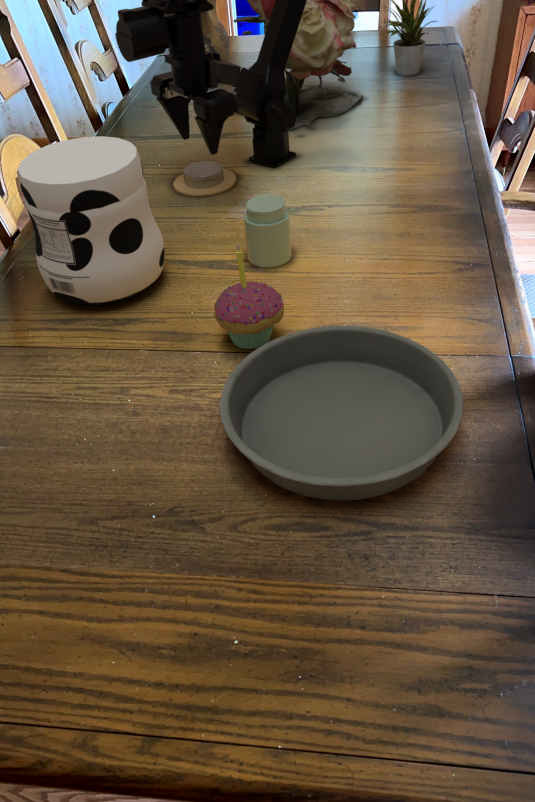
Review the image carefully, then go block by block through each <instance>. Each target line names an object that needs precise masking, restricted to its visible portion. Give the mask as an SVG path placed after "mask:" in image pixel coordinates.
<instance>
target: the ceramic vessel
mask: <svg viewBox="0 0 535 802" xmlns="http://www.w3.org/2000/svg"><path fill="white" fill-rule="evenodd" d="M207 1H208V2H209V3H211V4H212V5H213V6H214V8H213V10H210V11H206V12H202V13H201V17H202V25H203V34H204V42H205V51H212V52H216V53H219V54H220V57H221V61H222V60H223V61H226V62H229V63H230V59H231V44H230V38H229V35H228V32H227V30H226V28H225V26H224V24H223V23H222V22H221V20H220V19H219V16H218V14H217V0H207ZM206 34H207V35H206Z"/></svg>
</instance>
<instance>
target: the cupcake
mask: <svg viewBox="0 0 535 802" xmlns="http://www.w3.org/2000/svg"><path fill="white" fill-rule="evenodd" d="M239 247H240V246H239V244H236V252H235V254H236V255H235V256H236V261H237V269H238V274H239V279H240V282H237V283H235V284H233V285H231V286H228V287H227V288H226V289H224V290H222V292H221V293H220V294H219V296H218V297H217V298H216V301H215V303H214V311H213V312H214V313H213V315H214V319H215V320H216V322H217V324H218V325H219V327H220V328H221V329H223V330H225V331H226V332H227V333H228V335H229V338H230V339H231V341H232V343H233V344H234V345H235V347H238V348H240V349H243V350H254V349H255V350H256V349H258V348H259V347H261V346H263V345H265V344H266V343H268V342H270V341H271V340H270V339H271V335H272V332H273V328H274V327H275V324H278V323H280V322H281V321H282V319H283V317H284V315H285V314H284V313H285V305H284V299H283V296H282V293H279V292H278V291H277V290H276V289H275V288H274V287H273V286H272V285H268V284H267V283H265V282H264V283H263V282H259V281H247V278H246V271H245V264H244V260H243V259H244V258H243V253H242V250H240V248H239Z"/></svg>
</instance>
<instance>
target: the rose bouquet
mask: <svg viewBox="0 0 535 802" xmlns="http://www.w3.org/2000/svg"><path fill="white" fill-rule="evenodd" d="M246 2H247V3H248V4H249V6H250V7H251V9H252V11H254V12H255V13H256V14H257V16H251V15H246V16H242V17H238V18H235V19H233V20H232V22H233V23H239V22H241V23H250V24H262V23H263V24H265V25H263V29H264V30H265V29H267V27H268V23H269V20H270V17H271V14H272V10H273V7H274V4H275V0H246ZM355 8H356V5H355V4H354V3H353V2H352V1H351V0H307V2H306V5H305V8H304V11H303V15H302V18H301V21H300V24H299V27H298V30H297V33H296V36H295V39H294V42H293V45H292V49H291V52H290V55H289V58H288V61H287V64H286V67H285V72H284V74H285V83H286V95H285V101H284V104H285V105H286V106H287V107H288V108H289V109H291V110H292V111H293V112H294V113H295V114H296V115H297V118H296V122H295V126H294V128H291V129H290V130H293V129H297V128H299V127H301V126H302V127H303V126H307V127H308V128H311V129H312V127H311V126H310V125H311V123H312V122H313V121H314V120H316V119H317V118H324V117H328V118H329V117H336V116H338V115H342V113H345V112H347V111H349V110H350V109H351V108H352V107H353V106H354V105H355V104H356V103H357V102H359V101H360V100H361V99H364V95H358V94H357V93H354V92H344V91H336V90H329V89H327V88H326V87H324V86H323V81H322V77H324V76H327V75H329V74H332V75H333V76H336V77H337V79H336V80H337V81H338V82H340V83H347V80H346V79H345V78H344V77H349V76H350V75H351V74H352V73H353V72H352V67H350V66H348V65H345V64H347V61H341V60H340V59H339V58H341V57H342V56H343V55H344V52H345V51H347V50H350V49H357V44H356V41H355V40H354V38H353V37H354V36H353V34H352V33H351V32H352V31H353V30H354V29H355V19H356V16H355V14H354V13H353V10H355ZM241 33H242V35H243V36H252V35H253V33H252V30H245V31H243V32H241ZM206 35H207V34H206ZM253 65H254V64H252V65H250V66H249V67H248V69H250V68H251V67H252V66H253ZM288 70H289V71H288ZM311 76H312V77H317V78H318V79H319V84H317V86H316V85H312V86H303V85H304V84H305V80H306V79H307V78H309V77H311ZM234 89H235V88H232V89H231V91H230V92H231V93H233V94H234V95H235V96H236V92H234ZM237 114H242V113H240V111H238V112H237ZM242 115H243V114H242Z"/></svg>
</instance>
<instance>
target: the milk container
mask: <svg viewBox="0 0 535 802" xmlns="http://www.w3.org/2000/svg"><path fill="white" fill-rule="evenodd" d="M142 162H143V161H142V159H141V156H140V152H139V150H138V148H137V147H136V146H135V145H134V144H133V143H132V142H131V141H129V140H126V139H123V138H120V137H112V136H103V135H102V136H100V135H99V136H84V137H83V136H82V137H78V138H77V137H75V138H71V139H64V140H61V141H58V142H54V143H51V144H48V145H45V146H42V147H41V148H39V149H36V150H35V151H33V152H30V153H29V154H28V155H26V157H25V158H23V159H22V160H21V161H20V162H19V165H18V167H17V175H18V176H17V177H18V182H19V185H20V190H21V192H22V195H23V197H24V204H25V207H26V210H27V213H28V216H29V219H30V222H31V225H32V228H33V232H34V238H35V239H34V240H35V259H36V264H37V268H38V271H39V273H40V275H41V278H42V280H43V282H44V283H45V285H46V287H47V288H48V289H49V291H50V292H51V293H52V294H53V295H55V296H56V297H58V298H59V299H61V300H63V301H66V302H68V303H73V304H78V305H84V306H93V305H94V306H95V305H96V306H97V305H100V306H101V305H102V306H103V305H108V304H112V303H117V302H122V301H126V300H127V299H130V298H132V297H134V296H137V295H139V294H141V293H142V292H144V291H146V290H147V289H148V288H149V287H151V286H152V285H154V284H155V282H156V281H157V280H158V279H159V277H160V276H161V274H162V272H163V270H164V266H165V255H166V254H165V253H166V251H165V242H164V239H163V236H162V232H161V230H160V227H159V225H158V223H157V222H156V219H155V218H154V216H153V213H152V210H151V206H150V202H149V196H148V195H149V194H148V189H147V188H148V187H147V183H146V178H145V177H144V176H145V175H144V168H143V163H142Z"/></svg>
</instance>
